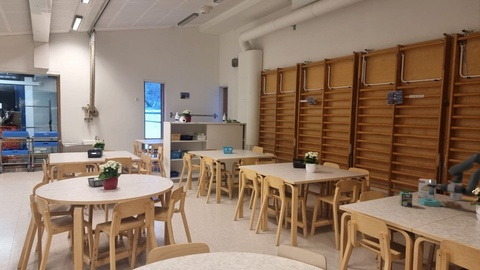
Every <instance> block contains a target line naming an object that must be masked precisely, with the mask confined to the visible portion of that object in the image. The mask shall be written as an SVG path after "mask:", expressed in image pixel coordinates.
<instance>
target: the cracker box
mask: <svg viewBox="0 0 480 270" xmlns="http://www.w3.org/2000/svg"><path fill="white" fill-rule="evenodd" d="M429 179H430V178H429ZM429 179H428V178H419V179H418V190H417V192H418V193H417V199H418V200H419V198H429V199H436V196H437V195H436V194H437V189H436V188H435V189H434V195H430V194H429V187H428V186H427V185H428V184H429ZM434 180H435V184H437V180H436V179H434Z"/></svg>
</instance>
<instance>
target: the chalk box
mask: <svg viewBox="0 0 480 270" xmlns="http://www.w3.org/2000/svg"><path fill="white" fill-rule="evenodd" d="M399 205H400V206H401V207H410V208H412V207H413V193H412V192H410V190H409V189H407V188H406V189H403V191H399Z"/></svg>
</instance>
